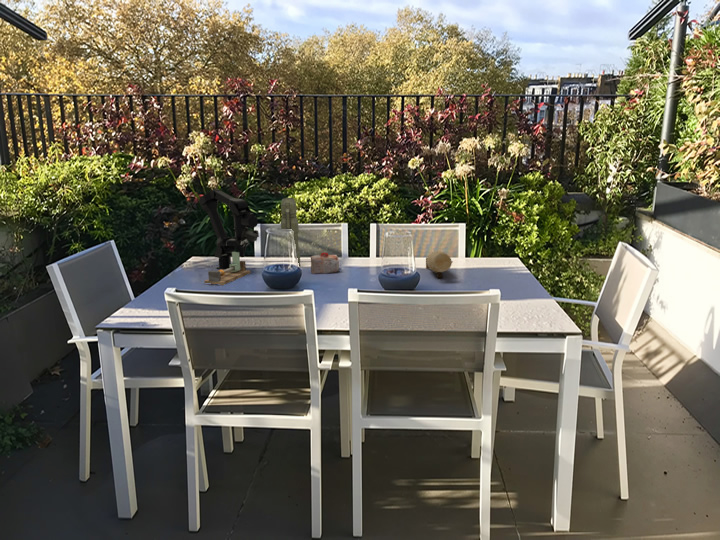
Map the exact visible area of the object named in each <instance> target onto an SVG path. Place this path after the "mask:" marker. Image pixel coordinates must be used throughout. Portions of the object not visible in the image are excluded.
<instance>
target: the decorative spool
mask: <svg viewBox="0 0 720 540" xmlns="http://www.w3.org/2000/svg"><path fill="white" fill-rule="evenodd" d="M452 265H453V261H452V258H451V257H450V256H449V255H448V254H447V253H446V252H443V251H436V250H435V251H432V252H431V253H429V255H427V257H426V258H425V269H427V270H429V269H430V271H432V272H433V273H435V274H437V275H436V277H437V279H443V273H444V272H446V271H448V270H449V269H450V268H451V266H452Z"/></svg>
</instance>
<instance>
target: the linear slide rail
mask: <svg viewBox="0 0 720 540" xmlns="http://www.w3.org/2000/svg"><path fill="white" fill-rule="evenodd" d="M246 264H247V263H246V261H245V260H240V270H239V271H237V272H230V271H231V270H234V269H235V266H233V267H231V268H228V269H217V270H209V271H207V273H208V279H205V280H204V284H205V283H211V284H220V285H219V286H225V285H228V284H230V283H232V282H234V281H236V279H237V280H239V279H241V278H244V277H245V275H246V276H248V275H250V274H251V270H249V269H247V266H246ZM247 274H248V275H247ZM238 278H239V279H238ZM231 281H232V282H231ZM229 282H230V283H229ZM227 283H228V284H227ZM211 284H210V285H211ZM224 284H225V285H224Z"/></svg>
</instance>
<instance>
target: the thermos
mask: <svg viewBox="0 0 720 540" xmlns="http://www.w3.org/2000/svg"><path fill="white" fill-rule="evenodd" d="M280 211H281V213H280V214H281V220H280V230H281V229H292V230H293V231H294V240H295V244H296V251H297V258H298V263H299V266H300V267H301V254H300V253H299V252H300V249H299V229H300V228H299V221H298V217H297V203H296V200H295V198H293V197H284V198H282V200H281V202H280Z"/></svg>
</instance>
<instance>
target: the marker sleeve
mask: <svg viewBox="0 0 720 540" xmlns="http://www.w3.org/2000/svg"><path fill="white" fill-rule="evenodd" d="M240 257H241V256H240V254H239V252H238V251H234V252H232V255H231V264H230V268H231V267H233V266H235V269H234V270H231V271H230V272H237V271H239V270H240V261H241V259H240Z"/></svg>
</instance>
